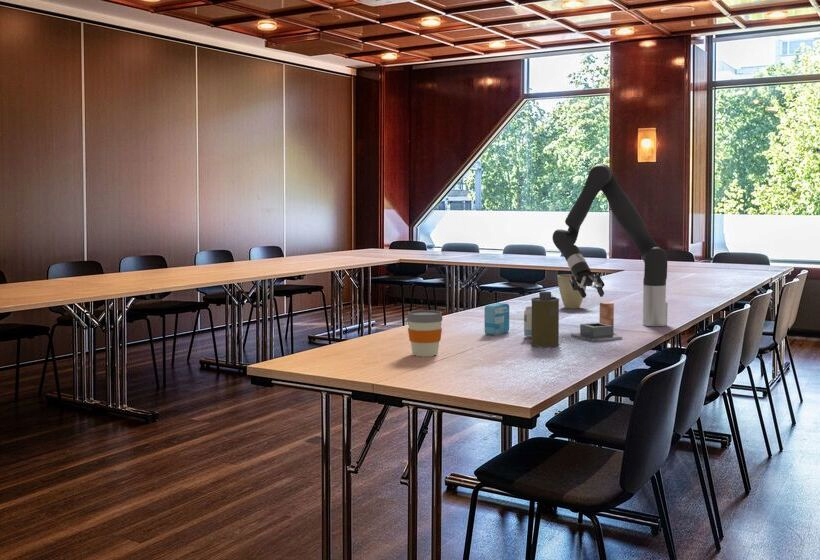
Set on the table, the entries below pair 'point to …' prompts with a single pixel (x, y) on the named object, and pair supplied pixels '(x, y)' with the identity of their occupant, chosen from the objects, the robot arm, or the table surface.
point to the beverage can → (528, 322)
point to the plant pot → (569, 292)
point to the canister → (545, 320)
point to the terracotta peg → (607, 313)
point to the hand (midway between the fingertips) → (593, 296)
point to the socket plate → (596, 332)
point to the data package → (496, 318)
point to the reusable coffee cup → (424, 331)
